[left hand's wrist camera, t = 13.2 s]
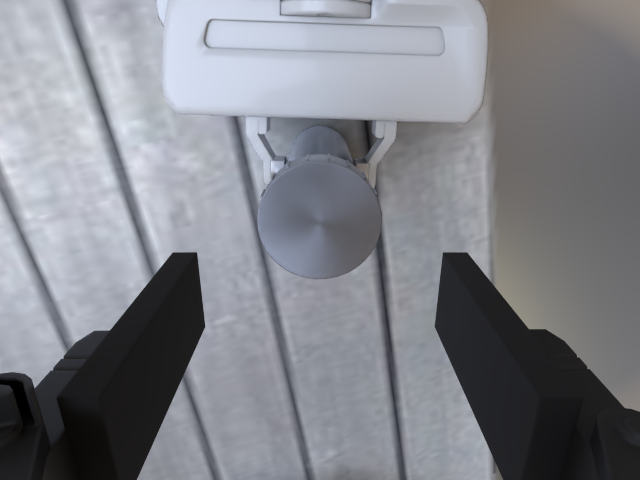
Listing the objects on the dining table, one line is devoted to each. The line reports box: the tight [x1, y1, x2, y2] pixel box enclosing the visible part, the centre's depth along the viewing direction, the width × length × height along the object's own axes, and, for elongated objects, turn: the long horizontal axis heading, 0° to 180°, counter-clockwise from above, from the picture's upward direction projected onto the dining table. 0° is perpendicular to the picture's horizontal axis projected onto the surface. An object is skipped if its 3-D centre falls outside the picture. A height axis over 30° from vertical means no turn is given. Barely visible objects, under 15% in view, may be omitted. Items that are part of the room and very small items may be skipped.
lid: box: [257, 154, 382, 279], centre depth 21 cm, size 6×6×2 cm
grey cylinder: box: [285, 126, 355, 166], centre depth 29 cm, size 5×5×17 cm
